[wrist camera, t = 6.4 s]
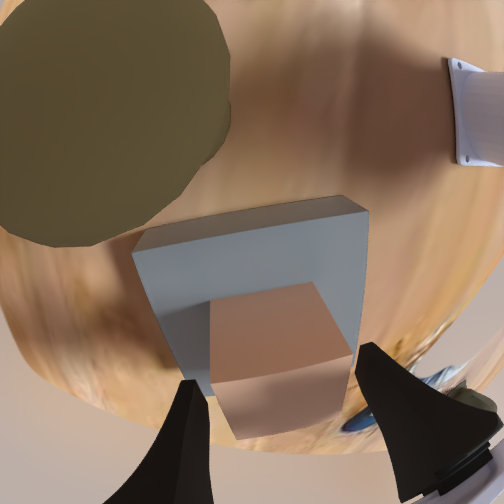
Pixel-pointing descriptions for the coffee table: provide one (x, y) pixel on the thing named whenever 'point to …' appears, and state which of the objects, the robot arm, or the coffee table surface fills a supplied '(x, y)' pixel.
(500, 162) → the robot arm
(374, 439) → the coffee table surface
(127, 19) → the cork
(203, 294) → the plate
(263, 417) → the tan cube
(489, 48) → the coffee table surface
